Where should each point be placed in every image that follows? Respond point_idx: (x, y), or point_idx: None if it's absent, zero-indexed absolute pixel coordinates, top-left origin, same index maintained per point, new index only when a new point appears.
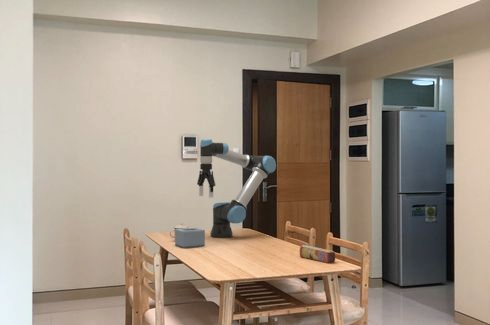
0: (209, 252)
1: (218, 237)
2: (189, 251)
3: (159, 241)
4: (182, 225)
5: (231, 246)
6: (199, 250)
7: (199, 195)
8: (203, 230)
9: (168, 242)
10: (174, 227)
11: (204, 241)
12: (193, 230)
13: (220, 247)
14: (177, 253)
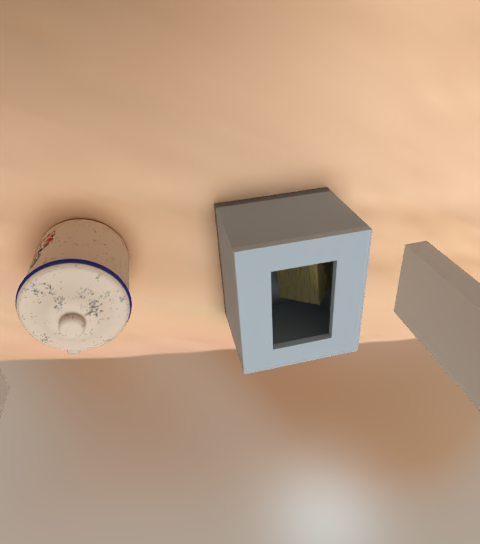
0: (471, 218)
1: None
2: (397, 288)
3: (59, 358)
4: (99, 317)
5: (415, 24)
6: (404, 244)
7: (5, 397)
8: (369, 237)
9: None
10: (70, 349)
11: (339, 200)
12: (352, 298)
13: (400, 112)
14: (403, 335)
